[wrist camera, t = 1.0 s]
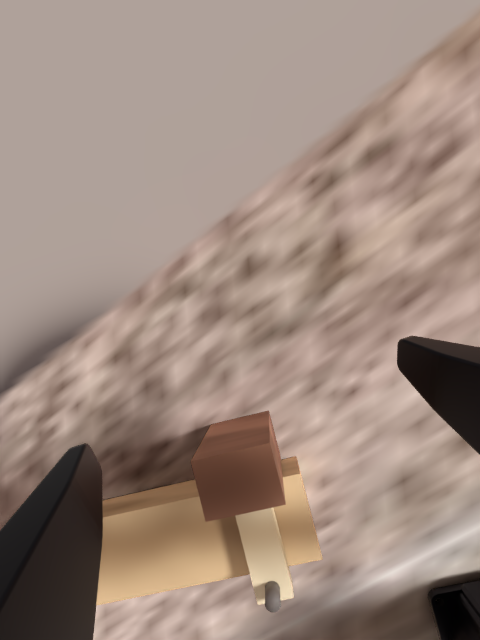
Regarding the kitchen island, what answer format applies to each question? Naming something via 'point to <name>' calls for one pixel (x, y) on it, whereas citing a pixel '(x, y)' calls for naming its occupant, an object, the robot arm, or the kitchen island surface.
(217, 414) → the kitchen island surface
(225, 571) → the plank
